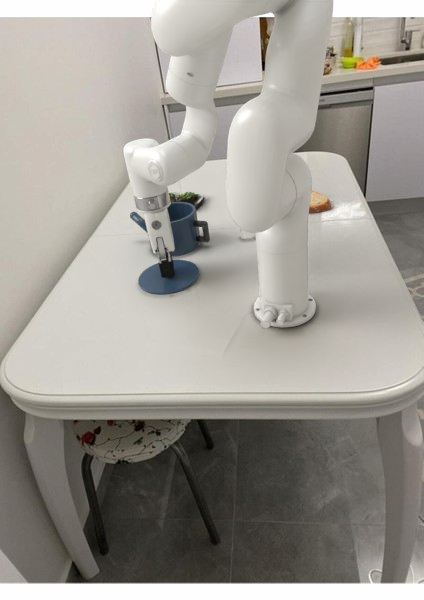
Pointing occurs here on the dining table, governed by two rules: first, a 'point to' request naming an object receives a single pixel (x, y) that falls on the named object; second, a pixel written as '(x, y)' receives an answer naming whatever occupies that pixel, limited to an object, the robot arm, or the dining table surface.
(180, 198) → the salad plate
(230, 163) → the robot arm
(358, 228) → the dining table surface
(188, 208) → the teapot
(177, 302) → the dining table surface
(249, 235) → the eye dropper bottle
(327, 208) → the slice of bread
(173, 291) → the teapot lid
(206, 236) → the teapot spout and handle
